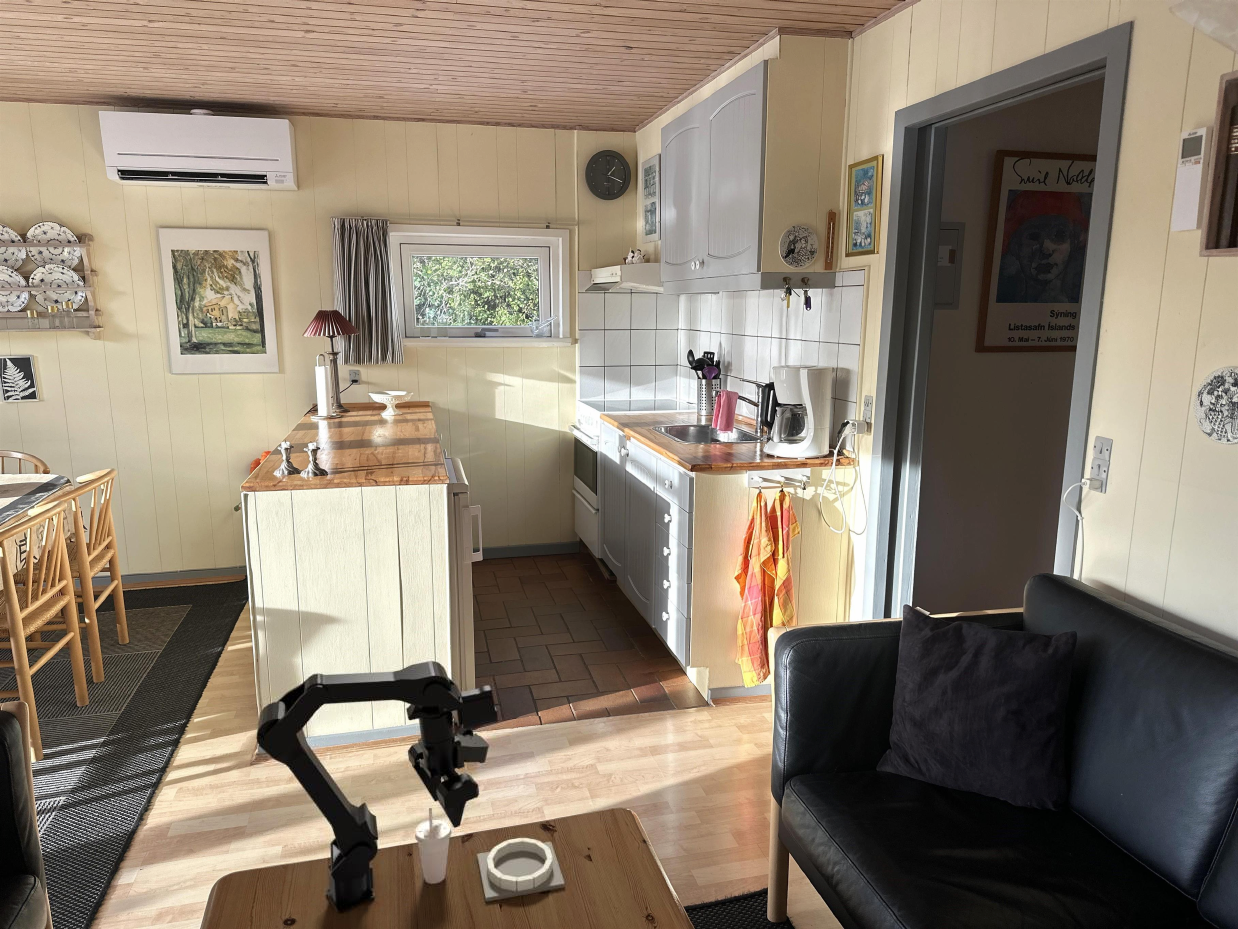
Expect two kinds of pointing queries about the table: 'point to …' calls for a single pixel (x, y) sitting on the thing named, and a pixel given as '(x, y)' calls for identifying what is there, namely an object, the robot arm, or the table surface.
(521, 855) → the socket board
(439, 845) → the smoothie
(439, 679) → the robot arm
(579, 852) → the table surface
